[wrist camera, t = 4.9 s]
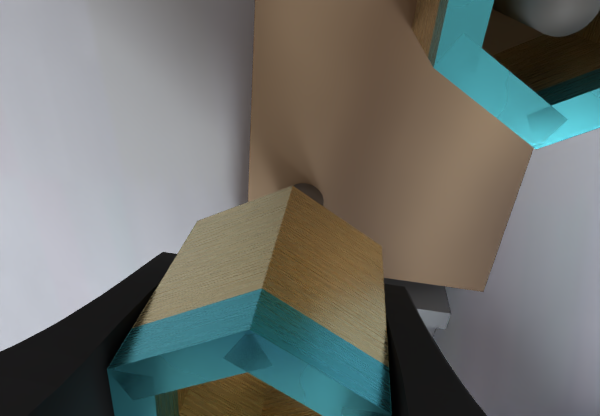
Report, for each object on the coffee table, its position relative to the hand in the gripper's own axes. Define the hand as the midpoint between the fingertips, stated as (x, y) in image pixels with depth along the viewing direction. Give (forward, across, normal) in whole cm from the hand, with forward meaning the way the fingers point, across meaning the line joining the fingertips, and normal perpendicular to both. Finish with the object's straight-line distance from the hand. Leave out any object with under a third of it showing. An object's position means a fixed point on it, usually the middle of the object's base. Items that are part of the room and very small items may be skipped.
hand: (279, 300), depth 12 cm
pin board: (+7, -2, -4) cm, 8 cm away
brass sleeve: (+1, 0, 0) cm, 1 cm away
